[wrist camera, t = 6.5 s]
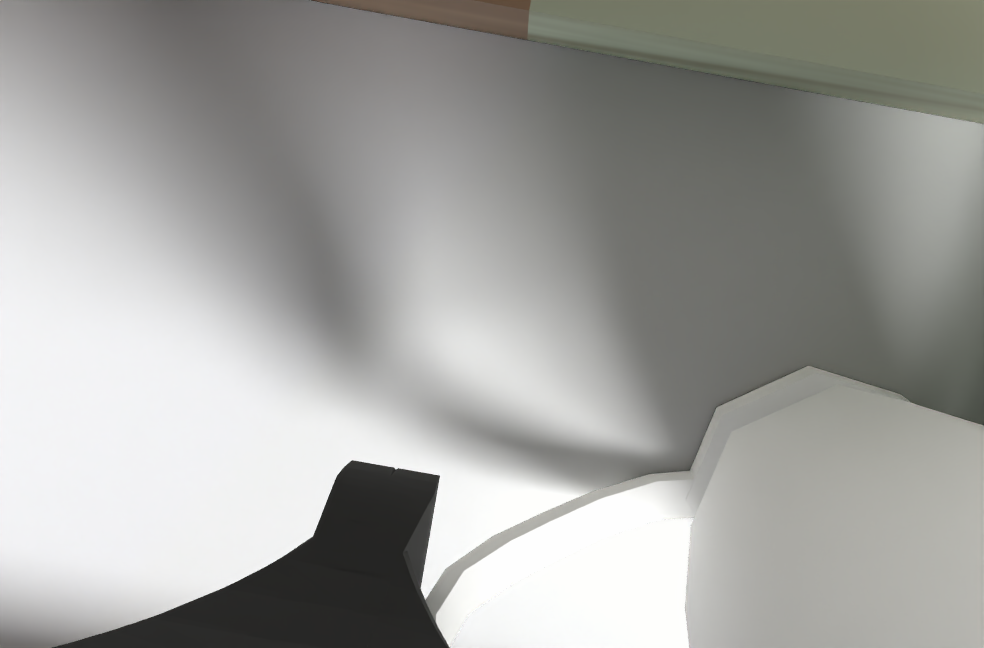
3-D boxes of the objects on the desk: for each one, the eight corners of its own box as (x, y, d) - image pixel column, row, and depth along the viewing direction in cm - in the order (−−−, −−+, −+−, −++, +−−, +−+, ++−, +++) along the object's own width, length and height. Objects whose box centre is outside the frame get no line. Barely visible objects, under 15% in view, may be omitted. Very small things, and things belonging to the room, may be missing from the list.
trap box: (864, 879, 15) (943, 1052, 13) (-564, 629, 15) (-820, 748, 12) (1183, 88, 11) (1413, 76, 8) (-777, -272, 11) (-1243, -415, 8)
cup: (994, 639, 14) (1597, 1301, 6) (466, 665, 14) (398, 1295, 7) (1029, 273, 12) (1954, 548, 4) (423, 321, 13) (264, 638, 5)
